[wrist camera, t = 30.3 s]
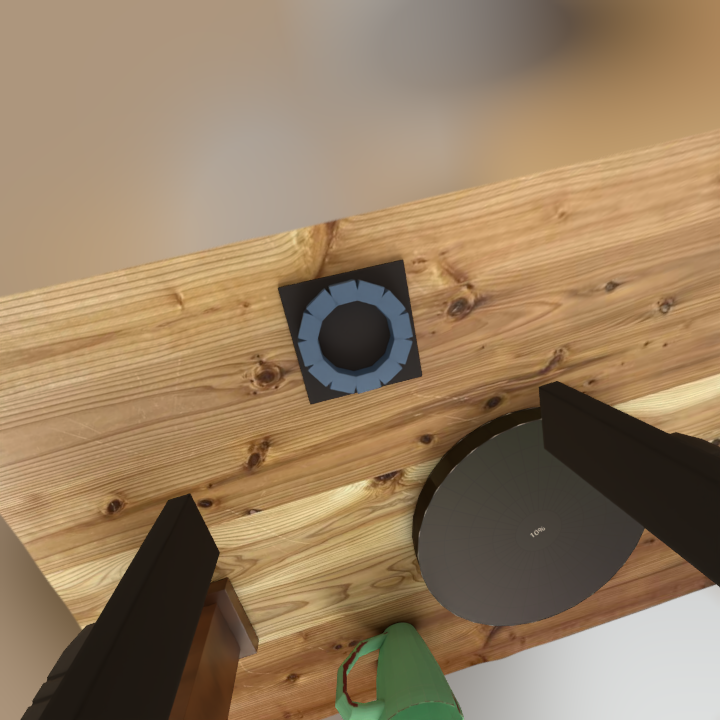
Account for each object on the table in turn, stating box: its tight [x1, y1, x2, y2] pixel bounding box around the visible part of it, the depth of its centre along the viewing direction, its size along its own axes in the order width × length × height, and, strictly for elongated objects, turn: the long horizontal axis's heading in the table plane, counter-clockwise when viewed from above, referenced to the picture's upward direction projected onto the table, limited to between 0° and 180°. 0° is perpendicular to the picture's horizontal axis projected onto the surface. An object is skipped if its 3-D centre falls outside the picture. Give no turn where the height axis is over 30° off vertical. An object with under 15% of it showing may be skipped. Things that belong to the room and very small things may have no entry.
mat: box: [278, 260, 422, 404], centre depth 33 cm, size 12×12×1 cm
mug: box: [335, 623, 464, 720], centre depth 41 cm, size 15×10×10 cm
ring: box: [298, 279, 413, 394], centre depth 32 cm, size 11×11×2 cm
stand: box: [169, 578, 259, 720], centre depth 34 cm, size 11×11×14 cm
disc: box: [412, 407, 645, 626], centre depth 41 cm, size 30×30×3 cm
